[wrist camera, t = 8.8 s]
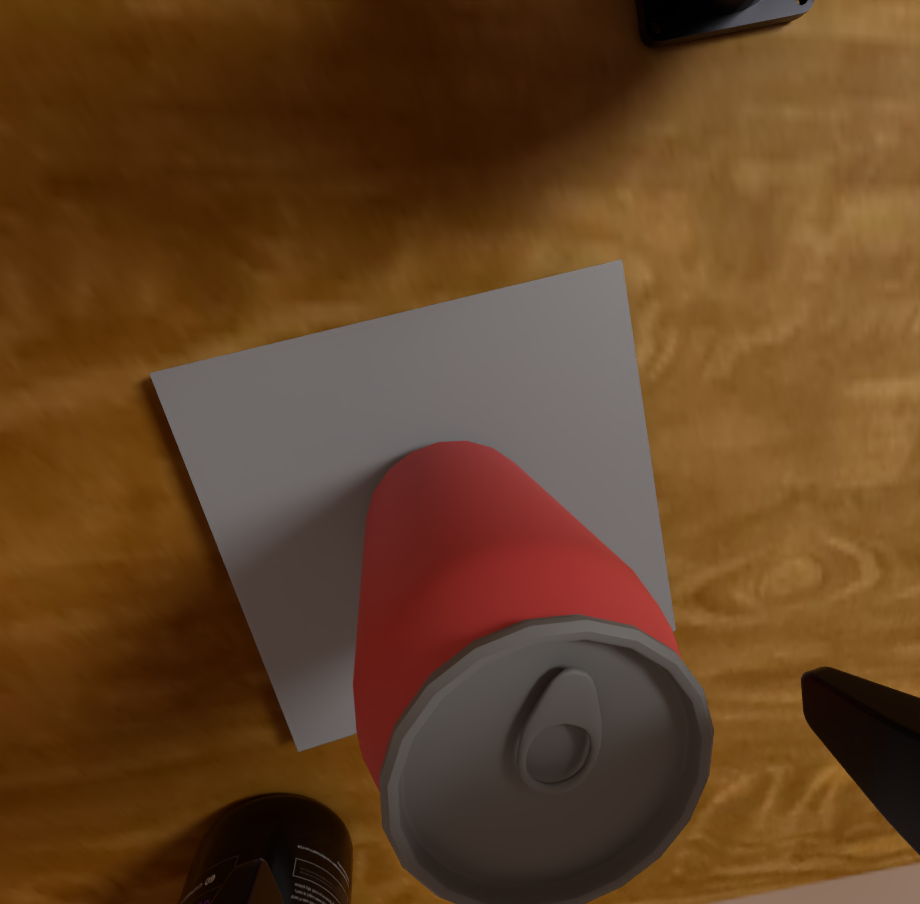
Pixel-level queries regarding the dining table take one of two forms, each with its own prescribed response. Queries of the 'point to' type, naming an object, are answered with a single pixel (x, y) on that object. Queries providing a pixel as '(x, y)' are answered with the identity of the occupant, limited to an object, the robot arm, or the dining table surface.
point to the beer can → (516, 689)
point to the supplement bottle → (277, 851)
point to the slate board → (406, 453)
